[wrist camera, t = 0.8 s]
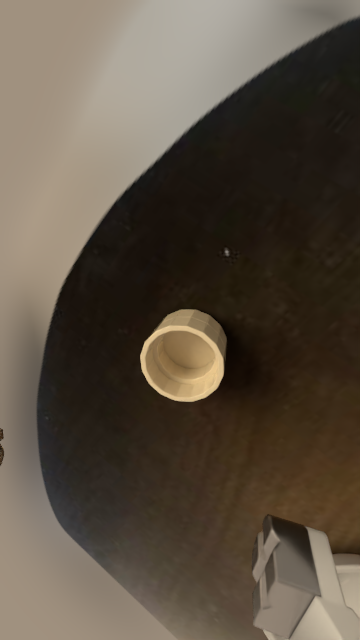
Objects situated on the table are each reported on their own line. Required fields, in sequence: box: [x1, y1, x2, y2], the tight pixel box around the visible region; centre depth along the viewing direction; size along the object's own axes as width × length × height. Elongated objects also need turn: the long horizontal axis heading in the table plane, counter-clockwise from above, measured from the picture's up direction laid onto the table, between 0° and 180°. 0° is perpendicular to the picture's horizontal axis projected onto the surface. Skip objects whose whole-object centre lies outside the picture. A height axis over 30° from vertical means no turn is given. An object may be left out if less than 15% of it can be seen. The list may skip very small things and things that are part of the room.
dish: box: [264, 554, 360, 640], centre depth 30 cm, size 18×14×5 cm
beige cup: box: [140, 310, 227, 402], centre depth 25 cm, size 6×6×4 cm
